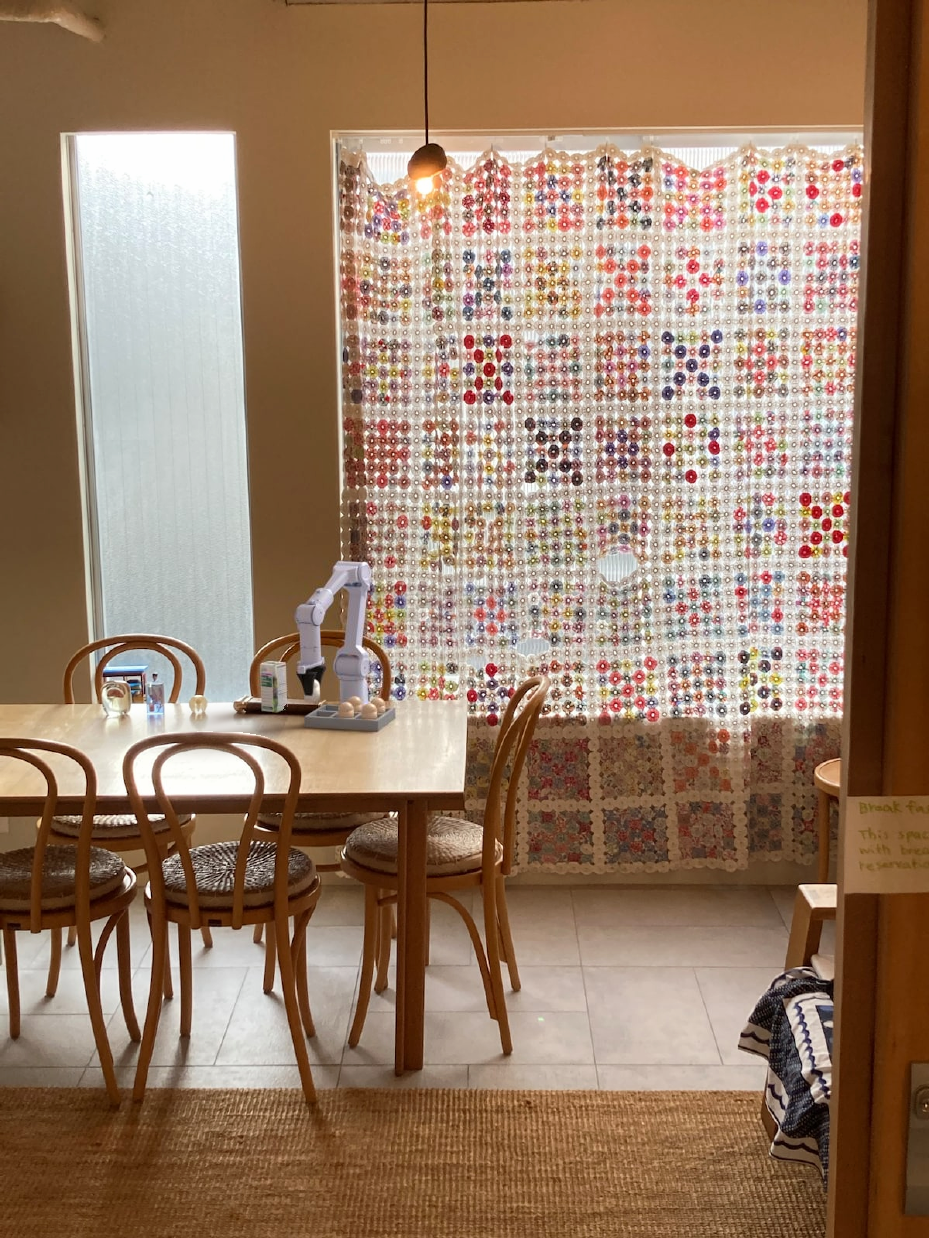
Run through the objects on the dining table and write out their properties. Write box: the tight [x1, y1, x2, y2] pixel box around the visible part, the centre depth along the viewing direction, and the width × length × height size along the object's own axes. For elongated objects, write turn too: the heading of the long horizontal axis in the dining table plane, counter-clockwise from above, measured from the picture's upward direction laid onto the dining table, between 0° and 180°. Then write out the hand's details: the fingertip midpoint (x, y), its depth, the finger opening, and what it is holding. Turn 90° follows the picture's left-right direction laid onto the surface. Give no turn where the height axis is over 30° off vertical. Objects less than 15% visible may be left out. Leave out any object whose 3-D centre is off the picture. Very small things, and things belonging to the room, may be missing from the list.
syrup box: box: [259, 660, 288, 713], centre depth 347 cm, size 6×6×14 cm
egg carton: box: [304, 696, 396, 732], centre depth 331 cm, size 15×22×7 cm
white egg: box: [303, 679, 321, 703], centre depth 329 cm, size 4×4×6 cm
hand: (312, 693), depth 329 cm, fingers closed on white egg, 4 cm apart
